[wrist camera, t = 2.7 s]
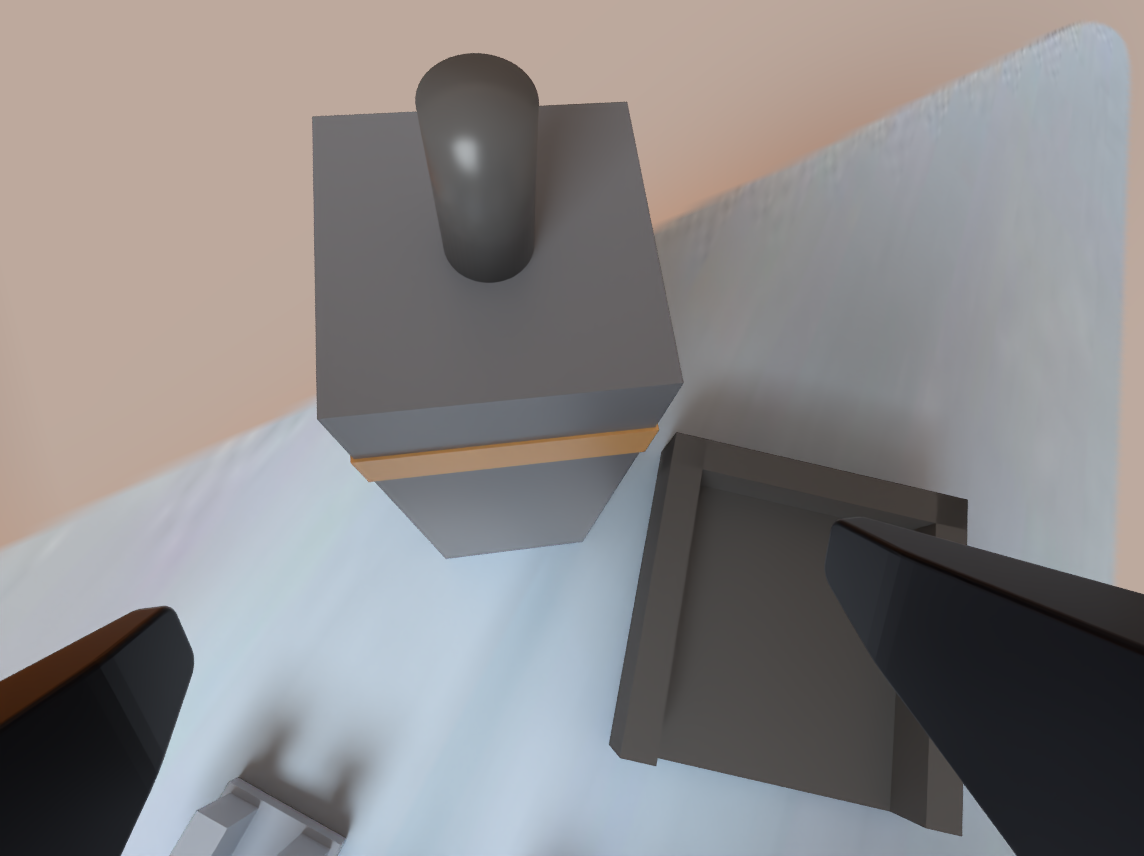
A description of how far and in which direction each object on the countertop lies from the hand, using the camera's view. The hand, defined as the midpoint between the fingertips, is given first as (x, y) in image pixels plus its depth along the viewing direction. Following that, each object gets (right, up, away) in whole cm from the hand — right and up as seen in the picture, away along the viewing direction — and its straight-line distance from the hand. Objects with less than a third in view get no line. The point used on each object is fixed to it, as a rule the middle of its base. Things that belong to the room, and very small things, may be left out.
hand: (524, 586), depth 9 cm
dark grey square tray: (+7, -4, +12) cm, 15 cm away
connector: (-2, 0, +13) cm, 13 cm away
